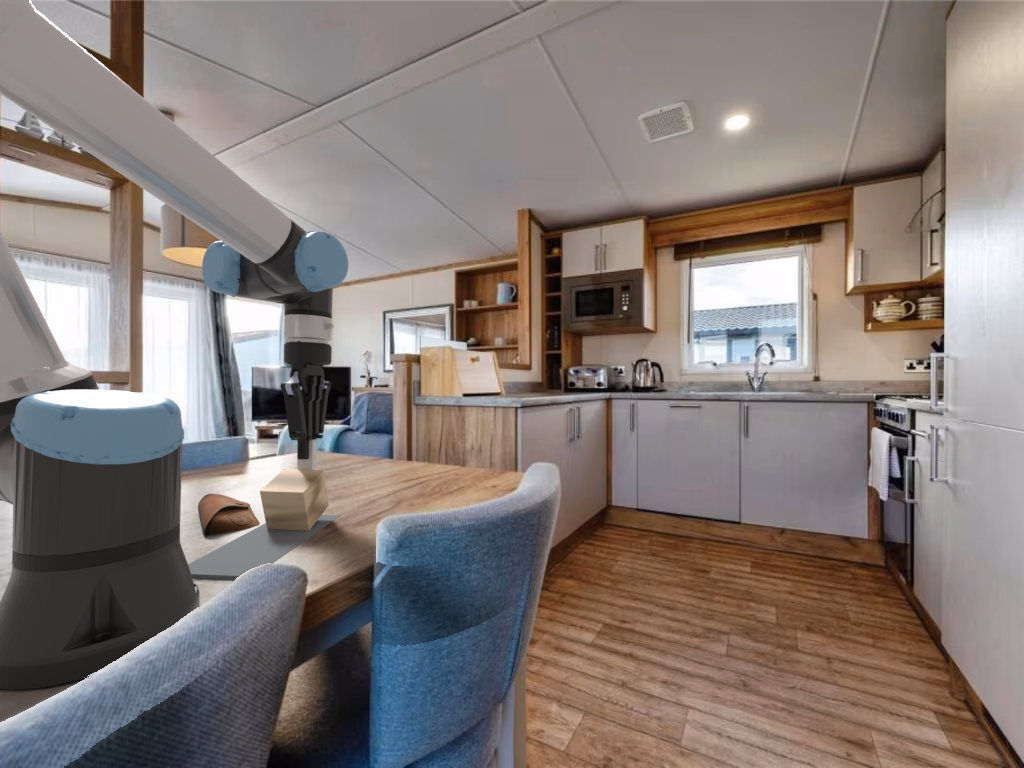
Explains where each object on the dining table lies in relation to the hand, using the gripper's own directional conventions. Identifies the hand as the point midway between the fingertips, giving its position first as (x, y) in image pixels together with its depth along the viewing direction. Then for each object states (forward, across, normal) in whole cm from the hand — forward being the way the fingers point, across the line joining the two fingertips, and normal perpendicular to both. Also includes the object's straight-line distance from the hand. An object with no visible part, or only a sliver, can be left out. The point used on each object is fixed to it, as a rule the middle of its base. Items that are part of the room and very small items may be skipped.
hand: (306, 476), depth 76 cm
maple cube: (+6, -2, 0) cm, 7 cm away
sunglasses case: (+9, -1, +14) cm, 16 cm away
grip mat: (+8, -10, 0) cm, 13 cm away
